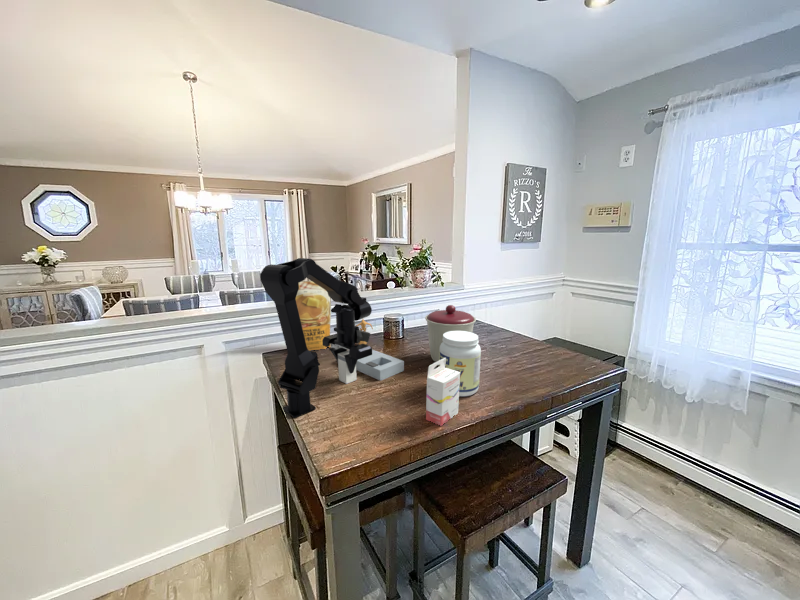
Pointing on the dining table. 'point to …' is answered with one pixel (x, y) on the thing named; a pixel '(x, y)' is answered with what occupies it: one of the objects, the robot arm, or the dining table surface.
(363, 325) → the figurine
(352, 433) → the dining table surface
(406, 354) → the dining table surface
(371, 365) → the socket block
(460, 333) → the supplement tub
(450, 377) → the ink cartridge box
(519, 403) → the dining table surface
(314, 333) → the pancake mix bag
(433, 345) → the canister
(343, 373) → the plug
